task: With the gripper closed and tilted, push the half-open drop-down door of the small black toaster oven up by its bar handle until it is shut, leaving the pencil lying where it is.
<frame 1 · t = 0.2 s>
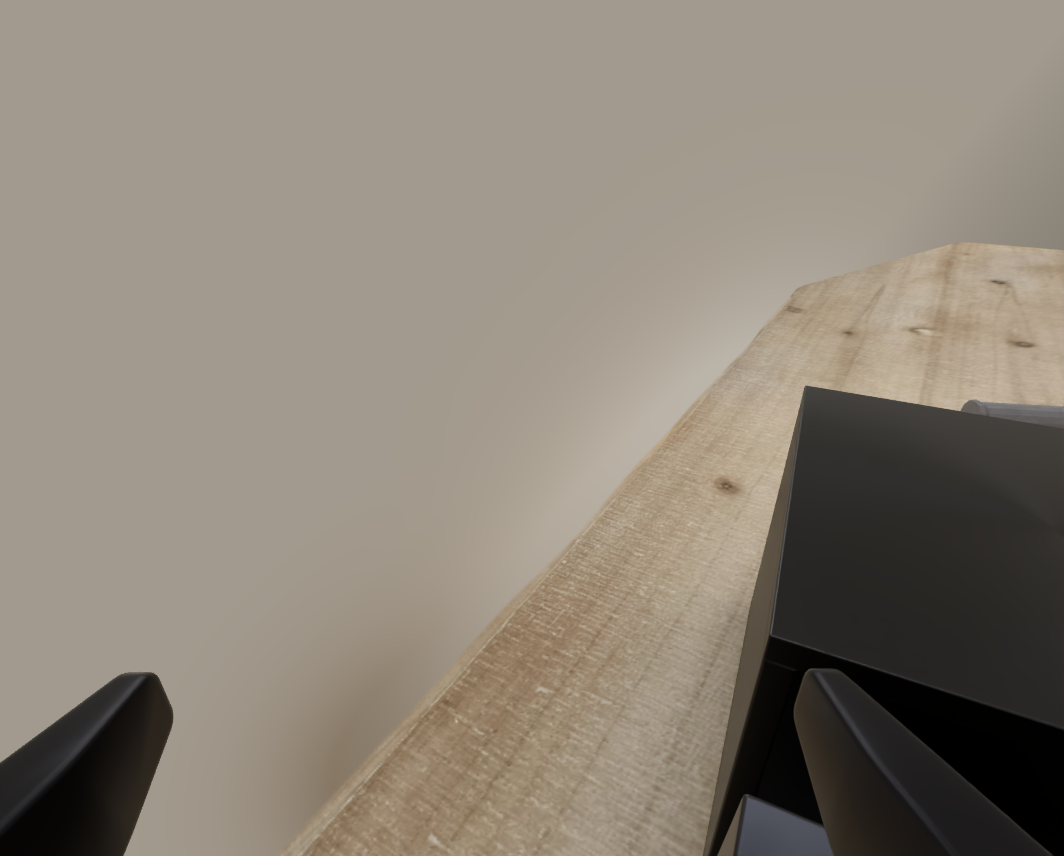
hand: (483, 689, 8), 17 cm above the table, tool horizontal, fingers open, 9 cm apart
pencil: (1037, 441, 47), on the table
oven: (911, 789, 23), on the table
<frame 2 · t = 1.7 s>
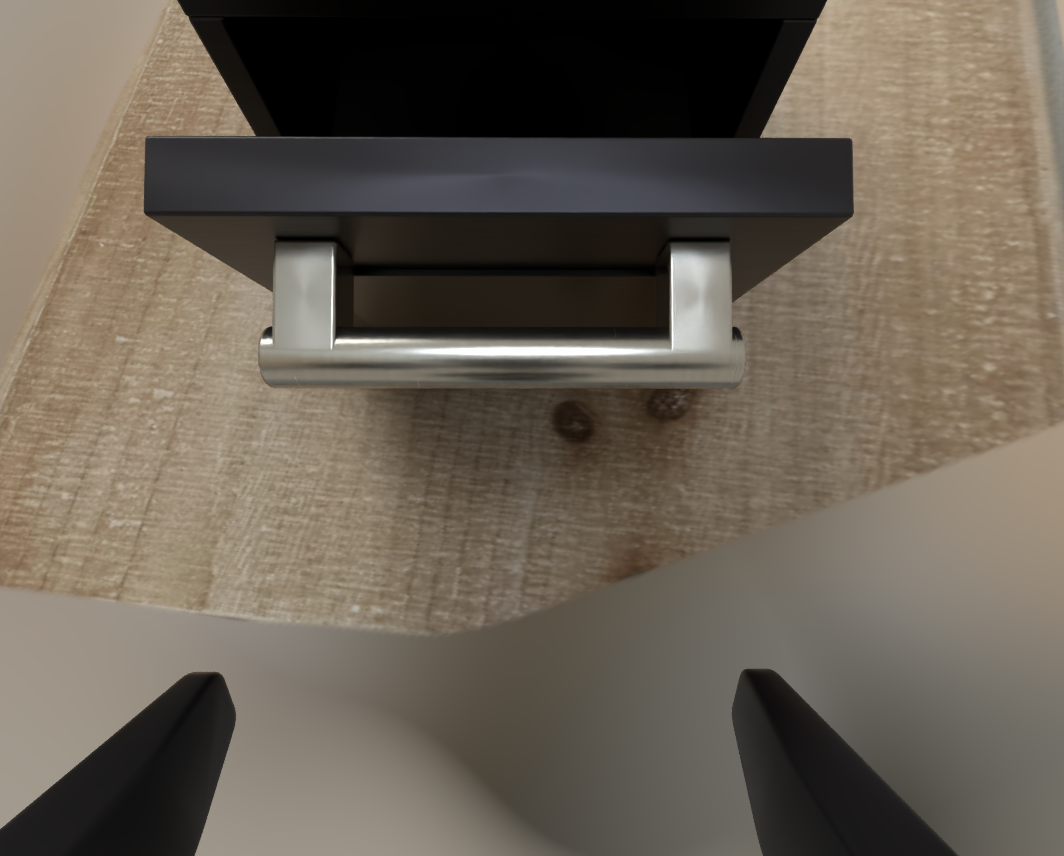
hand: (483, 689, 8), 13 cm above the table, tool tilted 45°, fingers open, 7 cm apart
oven door: (510, 323, 18), point 6 cm above the table, hinge at 15.0°
oven: (516, 150, 27), on the table
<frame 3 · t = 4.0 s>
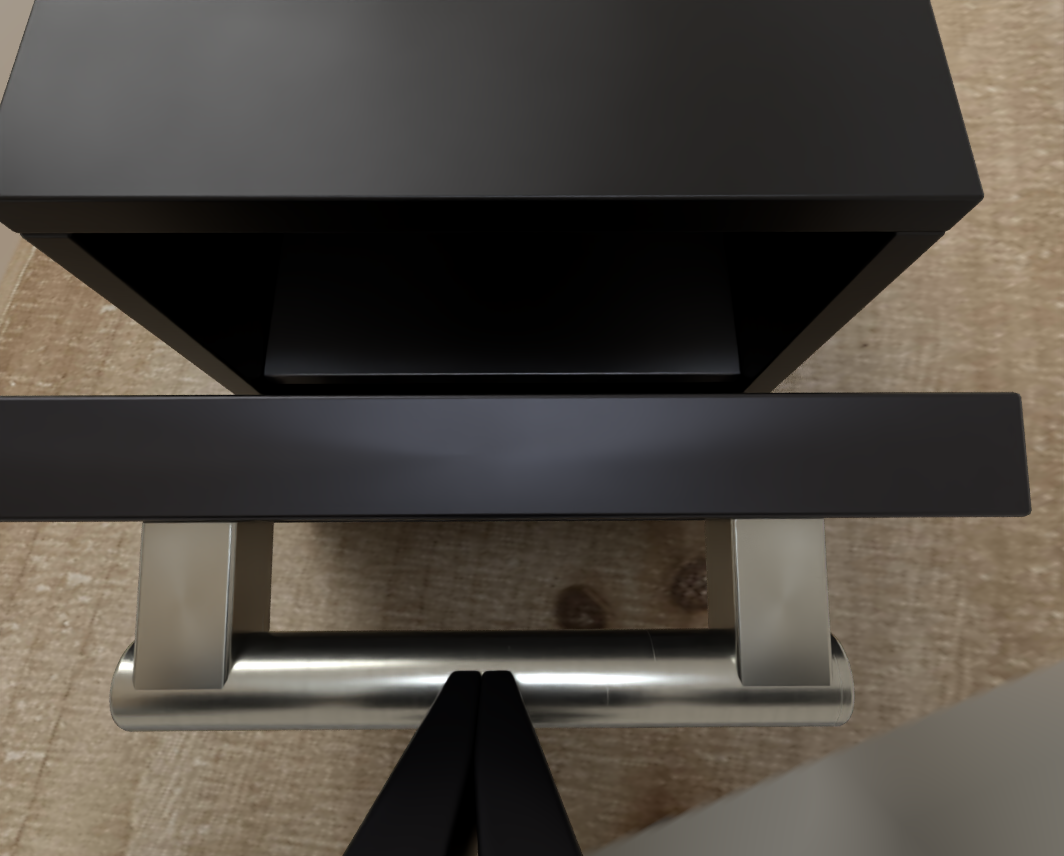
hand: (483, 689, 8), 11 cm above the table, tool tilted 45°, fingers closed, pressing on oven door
oven door: (500, 541, 14), point 6 cm above the table, hinge at 11.3°, touching gripper
oven: (510, 260, 23), on the table
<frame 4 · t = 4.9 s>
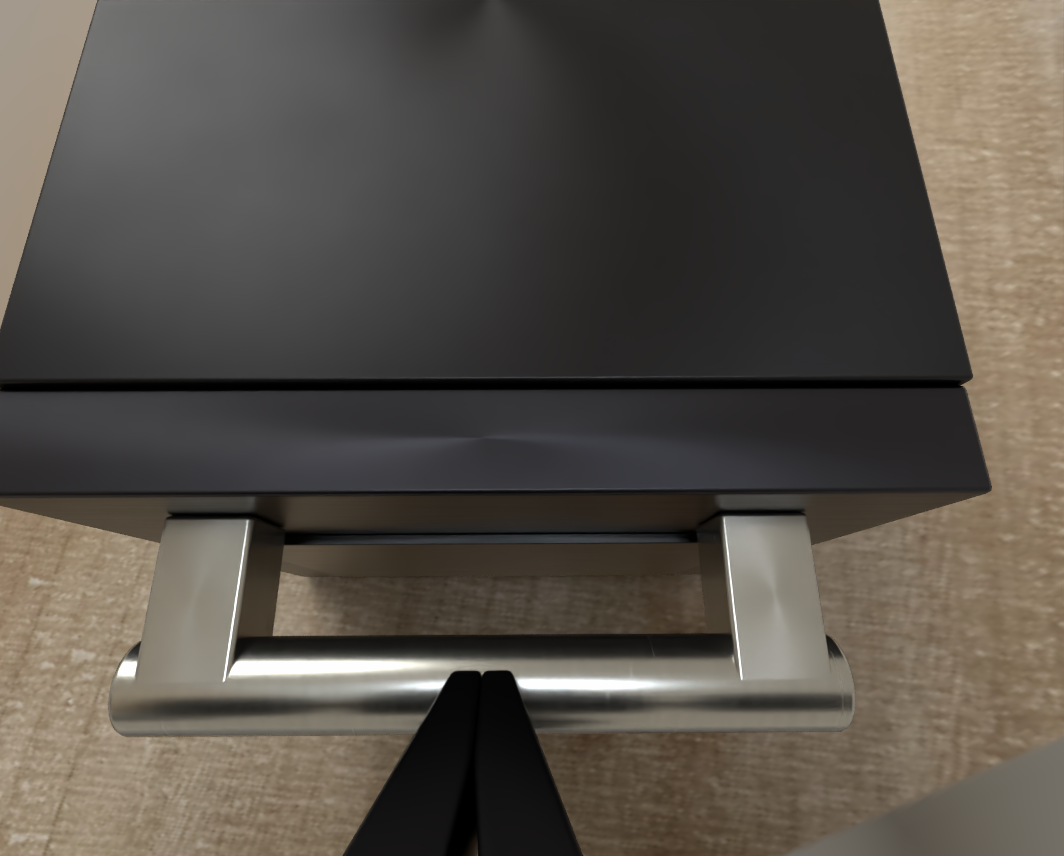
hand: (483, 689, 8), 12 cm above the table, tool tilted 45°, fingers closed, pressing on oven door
oven door: (500, 587, 14), point 7 cm above the table, hinge at -1.1°, touching gripper, oven
oven: (510, 328, 23), on the table
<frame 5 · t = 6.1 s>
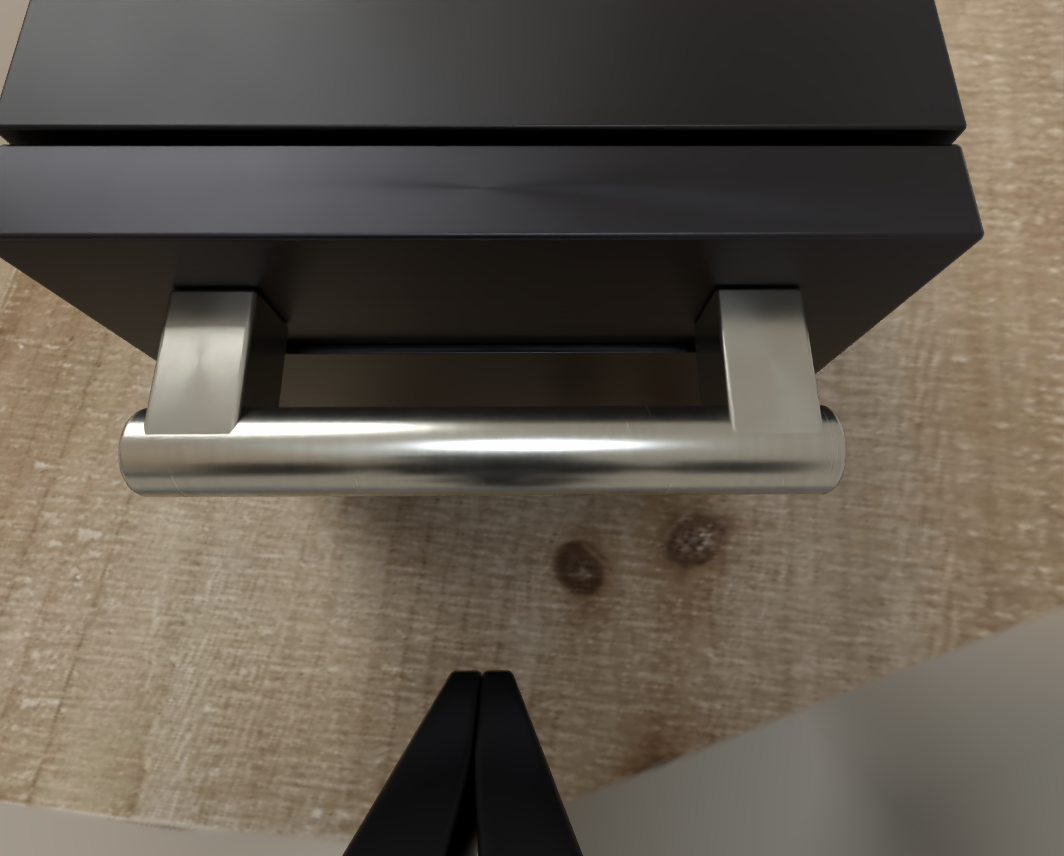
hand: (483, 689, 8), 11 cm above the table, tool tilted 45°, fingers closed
oven door: (500, 427, 14), point 7 cm above the table, hinge at -0.7°
oven: (510, 226, 23), on the table
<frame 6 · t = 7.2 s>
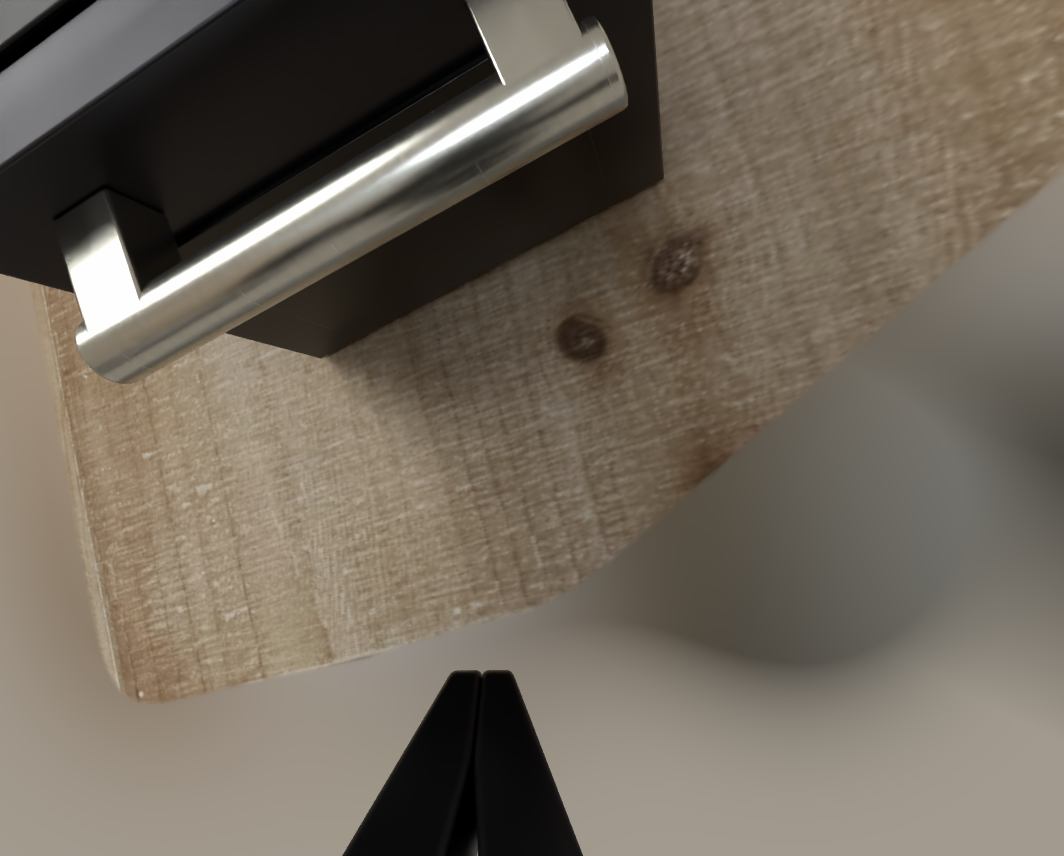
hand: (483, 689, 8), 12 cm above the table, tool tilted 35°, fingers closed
oven door: (409, 229, 15), point 7 cm above the table, hinge at -0.7°
oven: (390, 59, 22), on the table
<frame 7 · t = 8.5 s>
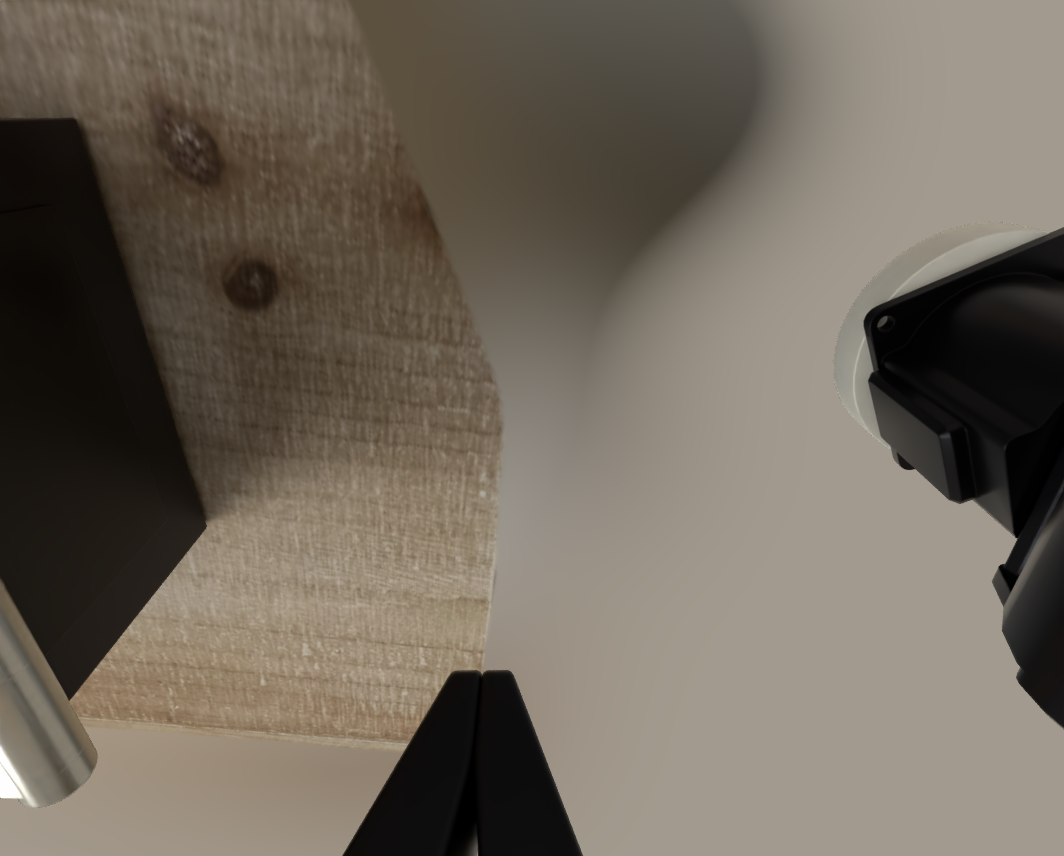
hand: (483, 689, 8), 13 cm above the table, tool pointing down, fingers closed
oven door: (34, 455, 14), point 7 cm above the table, hinge at -0.7°
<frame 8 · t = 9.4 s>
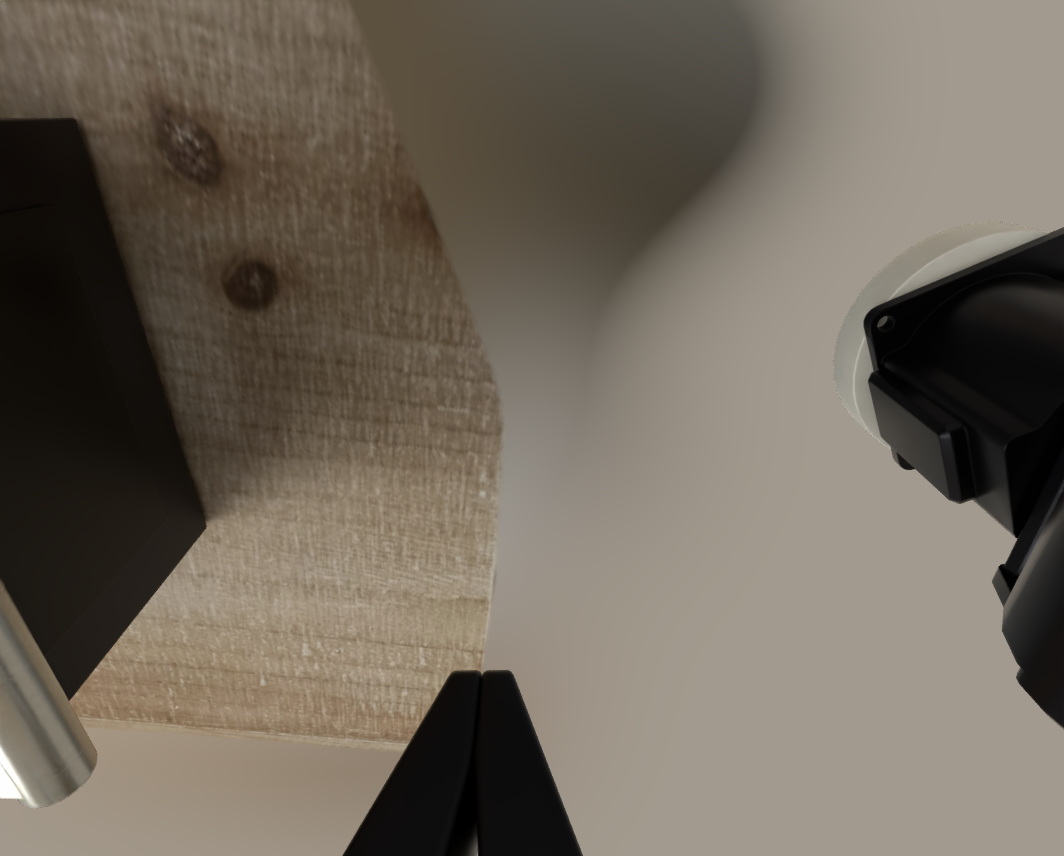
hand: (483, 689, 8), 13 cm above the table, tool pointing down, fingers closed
oven door: (34, 455, 14), point 7 cm above the table, hinge at -0.7°
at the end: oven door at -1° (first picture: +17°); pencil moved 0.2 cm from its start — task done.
